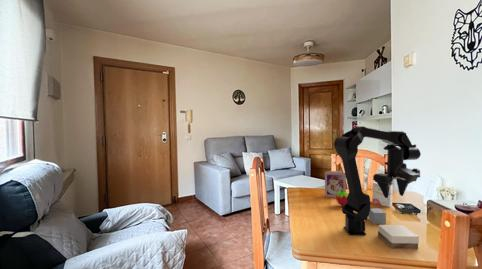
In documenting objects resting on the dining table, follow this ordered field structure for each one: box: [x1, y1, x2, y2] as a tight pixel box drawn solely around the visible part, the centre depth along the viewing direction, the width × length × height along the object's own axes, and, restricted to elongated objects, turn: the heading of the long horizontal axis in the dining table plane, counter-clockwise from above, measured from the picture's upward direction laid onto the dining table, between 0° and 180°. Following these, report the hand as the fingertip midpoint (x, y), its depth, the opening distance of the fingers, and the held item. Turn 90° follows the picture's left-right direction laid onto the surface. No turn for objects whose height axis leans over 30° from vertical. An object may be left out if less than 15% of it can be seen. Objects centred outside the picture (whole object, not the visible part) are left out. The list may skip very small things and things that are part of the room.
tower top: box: [377, 224, 420, 244], centre depth 86 cm, size 9×9×2 cm
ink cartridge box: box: [371, 180, 393, 208], centre depth 124 cm, size 9×5×15 cm, turn 47°
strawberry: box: [335, 188, 349, 207], centre depth 122 cm, size 6×7×10 cm
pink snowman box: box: [324, 170, 347, 198], centre depth 140 cm, size 11×7×15 cm, turn 67°
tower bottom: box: [377, 230, 419, 250], centre depth 86 cm, size 9×9×2 cm
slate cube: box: [367, 208, 387, 225], centre depth 104 cm, size 5×5×5 cm
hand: (394, 196), depth 99 cm, fingers open, 9 cm apart
